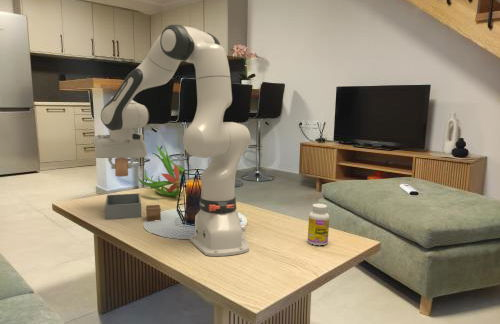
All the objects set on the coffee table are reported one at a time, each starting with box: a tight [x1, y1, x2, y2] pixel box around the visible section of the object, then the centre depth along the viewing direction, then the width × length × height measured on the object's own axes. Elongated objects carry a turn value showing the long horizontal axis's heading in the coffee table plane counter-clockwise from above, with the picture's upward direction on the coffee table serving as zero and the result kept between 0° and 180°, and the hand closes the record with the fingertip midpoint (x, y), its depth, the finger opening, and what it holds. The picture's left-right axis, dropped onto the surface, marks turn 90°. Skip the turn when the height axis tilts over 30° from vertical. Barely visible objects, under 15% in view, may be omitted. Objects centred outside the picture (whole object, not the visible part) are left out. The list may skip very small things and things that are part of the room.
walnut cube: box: [145, 204, 162, 222], centre depth 143 cm, size 5×5×5 cm
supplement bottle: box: [307, 203, 330, 246], centre depth 121 cm, size 7×7×13 cm
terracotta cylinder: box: [114, 158, 129, 178], centre depth 152 cm, size 5×5×7 cm
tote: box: [104, 193, 142, 221], centre depth 151 cm, size 17×13×6 cm
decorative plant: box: [138, 144, 186, 198], centre depth 180 cm, size 26×25×30 cm
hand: (121, 168), depth 152 cm, fingers closed on terracotta cylinder, 5 cm apart
